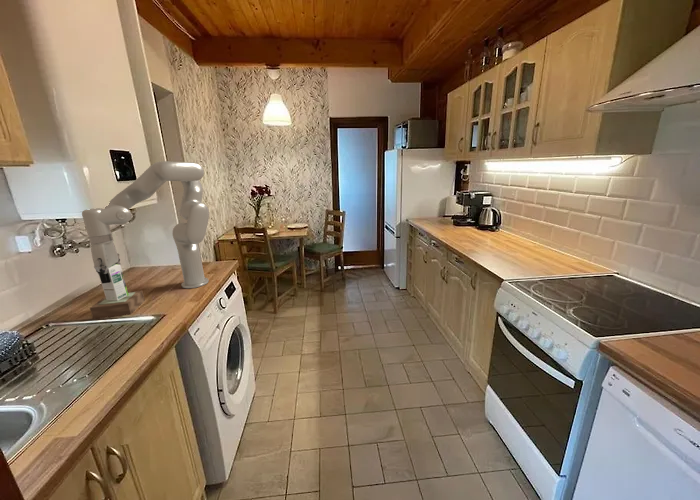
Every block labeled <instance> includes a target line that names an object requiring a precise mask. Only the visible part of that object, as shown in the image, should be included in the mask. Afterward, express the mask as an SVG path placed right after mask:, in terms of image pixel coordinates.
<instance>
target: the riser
mask: <svg viewBox="0 0 700 500" xmlns="http://www.w3.org/2000/svg"><path fill="white" fill-rule="evenodd" d="M128 294H129V295H128V296H126V297H124V298H122V299H120V300H118V301H109V300H106V296H105V295H104V297H102V298H101V299H100V300H98V301H97V302H95V304H93V305H92V306H91V307H89V310H90V313H91V316H92V319H93V320H97V319H106V318H111V317H112V318H113V317H123V316H129V315H132V314H133V313H134V312H135V311H136V310H137V309H138V308H139V307H140V306H141V305H142V304H143V303H144V302H145V296H144V293H143V290H136V291H128Z"/></svg>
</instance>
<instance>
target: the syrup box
mask: <svg viewBox="0 0 700 500" xmlns="http://www.w3.org/2000/svg"><path fill="white" fill-rule="evenodd" d="M103 270H104V269H103ZM107 273H109V276H110V280H111V282H110V283H101V286H102V290H103V293H104V297H105V296H106V300H109V301H118V300H120V299H122V298H124V297H126V296H128V295H129V294H128V292H129V291H128V288H127V284H126V281H125V277H124V274H123V273H124V272H123V269H122V266H121V263H120V264H114V265H112V266H110V267H108V270H107ZM98 277H99V280H100V281H101V279H100V276H99V275H98Z"/></svg>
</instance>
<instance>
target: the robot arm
mask: <svg viewBox="0 0 700 500" xmlns="http://www.w3.org/2000/svg"><path fill="white" fill-rule="evenodd" d="M204 174H205V172H204V168H203V166H202V165H201V164H199V163H198V162H195V161H193V162H192V161H172V160H171V161H168V160H163V161H156V162H153V163H152V164H151V165H150V166H149V167H148V168H146V170H145V171H144V172H143V173H141V175H139V177H137V178H136V179H135V180H134V181H133V182H132V183H130V184H129V185H128V186H126V187H125V188H124V189H123V190H121V191H120V192H118V194H116V195H115V196H113V198H112V199H110V201H109V202H110V203H109V205H108V206H106V207H105V209H103V207H102V208H101V207H99V208H98V207H97V208H96V207H95V208H96V209H94V208H89V209H90V210H87V209H84V210H82V211H81V215H82V216H81V217H82V219H83V220H82V221H83V223H84V226H85V230H86V232H87V236H88V240H89V243H90V251H91V257H92V263H93V268H94V269H95V272H96V273H97V274H98V277H99V276H100V277H99V280H100V279H101V280H100V283H101V284H102V283H110V282H111V280H110V276H109V273H107V270H108V267H110V266H112V265H114V264H120V265H121V262H120V261H121V259H120V254H119V252H118V251H117V249H116V245H115V243H114V238H113V235H112V230H111V227H110V225H123V224H126V223H128V222H129V221H130V220H131V217H132V213H131V211H130V209H131V208H133V207H134V206H135V205H137V204H138V203H141V202H143V201H146V200H148V199H150V198H151V197H153V195H155V194H156V193H157V191H158V190H159V189H160V188H161V187H162V186H163V185H164V184H165V183H167V182H180V183H181V185H182V188H183V191H182V197H181V198H182V199H181V203H180V208H179V215H180V216H181V217H180V218H182V219H184V220H186V222H179V223H177V224H175V226H173V228H172V237H173V238H172V239H173V240H174V243H175V246H176V249H177V254H178V258H179V263H180V268H181V272H182V277H183V282H182V283H181V284H180V285H181V288H183V289H196V288H199V287H203V286H205V285H207V284H208V283H209V278H208V277H205V272H204V268H203V267H204V266H203V262H202V256H201V252H200V251H201V250H200V248H199V247H200V246H199V244H200V243H202V242H203V240H204V239H205V236H206V233H207V229H208V225H209V219H210V210H209V207H208V206H207V204H206V203H204V202H202V200H203V191H204V189H203V186H202V183H201V180H202V178H203V177H204ZM103 269H104V270H103Z"/></svg>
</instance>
